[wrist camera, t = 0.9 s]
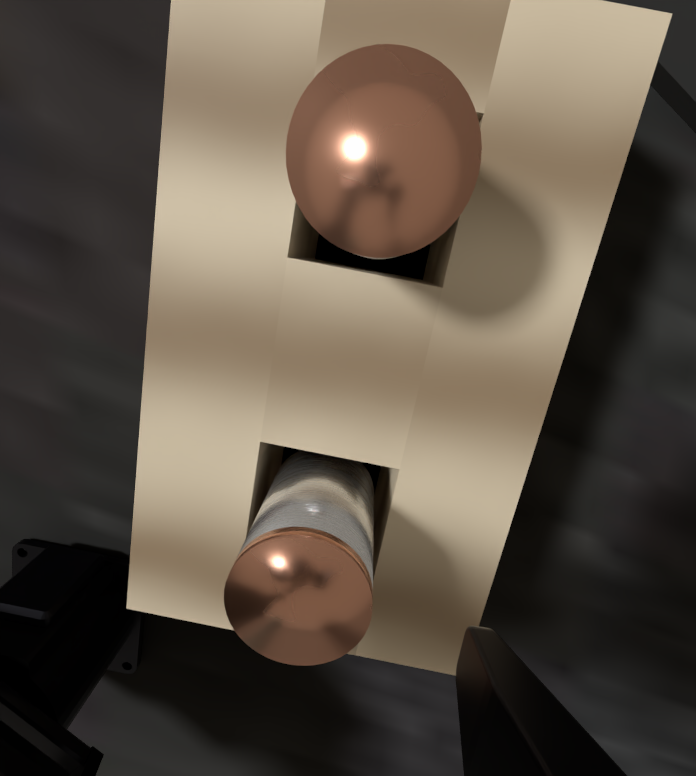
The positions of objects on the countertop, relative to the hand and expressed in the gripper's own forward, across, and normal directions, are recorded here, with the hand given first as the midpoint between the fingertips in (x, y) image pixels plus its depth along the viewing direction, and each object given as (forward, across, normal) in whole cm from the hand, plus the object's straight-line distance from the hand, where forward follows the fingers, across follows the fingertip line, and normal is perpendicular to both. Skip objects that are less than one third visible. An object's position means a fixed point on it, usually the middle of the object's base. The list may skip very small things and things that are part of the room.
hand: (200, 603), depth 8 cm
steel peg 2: (+9, -2, -8) cm, 12 cm away
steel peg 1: (+9, -2, +2) cm, 9 cm away
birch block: (+13, -2, -3) cm, 13 cm away
